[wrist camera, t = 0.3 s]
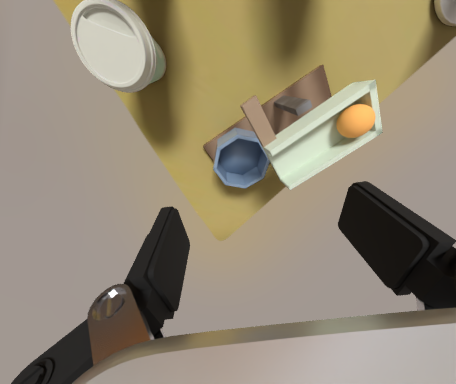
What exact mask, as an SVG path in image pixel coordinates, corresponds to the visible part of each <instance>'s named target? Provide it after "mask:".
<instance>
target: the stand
mask: <svg viewBox="0 0 456 384" xmlns="http://www.w3.org/2000/svg"><path fill="white" fill-rule="evenodd" d="M331 97H332V96H331V93H330V89H329V85H328V81H327V77H326V74H325V70H324V66H323V65H320V66H318V67H317V68H315V69H314V70H313V71H311V72H310V73H308V74H307V75H305V76H304V77H302V78H301V79H299V80H298V81H296V82H295V83H294V84H292V85H291V86H289V87H288V88H286V89H285V90H283V91H282V92H280V93H279V94H277V95H276V96H275V97H273V98H272V99H270V100H269V101H267V102H266V103H264V104H263V105H261V107H262V109H263V111H264V113H265V115H266V117H267V119H268V121H269V123H270V126H271V128H272V130H273V132H274V134H275V135H277V134H278V133H280V132H281V131H283V130H284V129H285V128H287V127H288V126H290V125H291V124H293V123H294V122H296V121H297V120H299V119H300V118H301V117H303V116H304V115H306V114H307V113H309V112H310V111H312V110H313V109H315V108H316V107H318V106H319V105H320V104H322V103H323V102H325V101H326V100H328V99H329V98H331ZM234 128H240V129H244V130H249V131H253V129H252V127H251V125H250V123H249V121H248V120H247V118H246V116H245V117H244V118H242V119H241V120H239V121H238V122H237V123H235V124H234V125H232V126H231V127H229V128H228V129H226V130H225V131H223V132H222V133H220V134H219V135H218V136H216V137H215V138H213V139H212V140H210V141H209V142H207V143H206V144H204V145H203V147H204V149H205V150H206V151H207V153H208V154H209V155H210V157H211V158H212V159H213V161H214V156H215V151H216V145H217V140H218V139H219V138H220V137H222V136H223V135H225V134H226V133H228V132H229V131H231V130H232V129H234ZM253 132H254V131H253Z"/></svg>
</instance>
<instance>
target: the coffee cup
mask: <svg viewBox="0 0 456 384" xmlns="http://www.w3.org/2000/svg"><path fill="white" fill-rule="evenodd" d="M71 35H72V40H73V44H74V47H75V49H76V52H77V54H78V56H79V58H80V59H81V61H82V62H83V64H84V65H85V66H86V68H87V69H88V70H89V71H90V72H91V73H92V74H93V75H94V76H95V77H96V78H98V79H99V80H100V81H101V82H103V83H104V84H106V85H107V86H109V87H111V88H113V89H116V90H119V91H122V92H137V91H140V90H142V89H143V88H145V87H146V86H147V85H148V84H150V83H153V82H155V81H157V80H159V79H161V78H162V77H163V75H164V73H165V71H166V58H165V55H164V53H163V51H162V49H161V48H160V46H159V45H158V44H157V42H156V41H155V40H154V39H153V38H152V36H151V35H150V33H149V31H148V29H147V28H146V26H145V24H144V23H143V21H142V20H141V19H140V18H139V16H138V15H137V14H136V13H135V12H134V11H133V10H132V9H130V8H129V7H128V6H126V5H125V4H123V3H121V2H119V1H117V0H84V1H82V2H81V3H80V4H79V5H78V6H77V7H76V9H75V10H74V12H73V15H72V19H71Z"/></svg>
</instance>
